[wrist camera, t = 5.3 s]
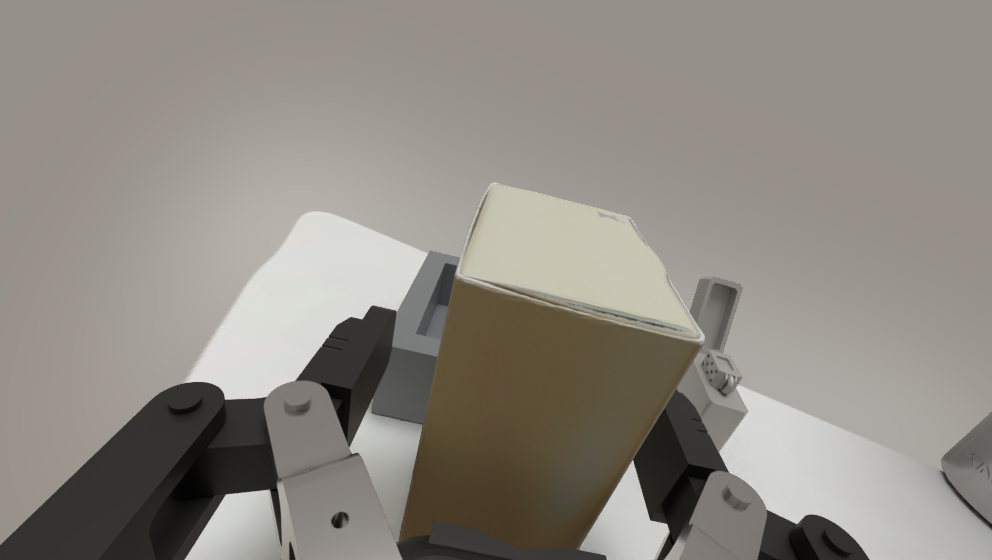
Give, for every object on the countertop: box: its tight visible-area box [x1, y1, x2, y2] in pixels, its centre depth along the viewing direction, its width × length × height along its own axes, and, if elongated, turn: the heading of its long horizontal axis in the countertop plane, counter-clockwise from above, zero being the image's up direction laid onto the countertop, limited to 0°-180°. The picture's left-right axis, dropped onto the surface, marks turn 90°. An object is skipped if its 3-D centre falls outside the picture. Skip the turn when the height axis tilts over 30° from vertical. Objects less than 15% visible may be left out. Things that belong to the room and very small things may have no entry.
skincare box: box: [399, 183, 705, 551], centre depth 12 cm, size 6×4×12 cm
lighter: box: [677, 277, 748, 452], centre depth 21 cm, size 7×2×8 cm, turn 169°
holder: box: [372, 251, 460, 424], centre depth 22 cm, size 10×10×4 cm
